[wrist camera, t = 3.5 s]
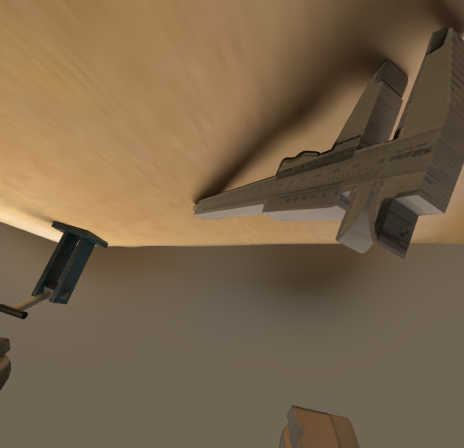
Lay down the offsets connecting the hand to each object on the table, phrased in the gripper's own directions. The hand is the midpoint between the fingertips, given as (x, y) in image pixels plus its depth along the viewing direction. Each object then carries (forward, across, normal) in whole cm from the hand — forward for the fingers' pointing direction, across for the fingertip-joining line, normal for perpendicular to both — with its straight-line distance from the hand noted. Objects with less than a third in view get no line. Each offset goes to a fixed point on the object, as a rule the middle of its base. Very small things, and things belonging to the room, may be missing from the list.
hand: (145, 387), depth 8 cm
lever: (+37, -34, -27) cm, 57 cm away
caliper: (+11, +2, +6) cm, 12 cm away
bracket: (+49, -32, -18) cm, 61 cm away
